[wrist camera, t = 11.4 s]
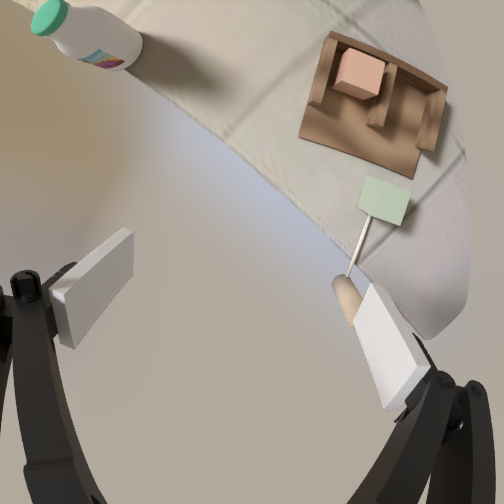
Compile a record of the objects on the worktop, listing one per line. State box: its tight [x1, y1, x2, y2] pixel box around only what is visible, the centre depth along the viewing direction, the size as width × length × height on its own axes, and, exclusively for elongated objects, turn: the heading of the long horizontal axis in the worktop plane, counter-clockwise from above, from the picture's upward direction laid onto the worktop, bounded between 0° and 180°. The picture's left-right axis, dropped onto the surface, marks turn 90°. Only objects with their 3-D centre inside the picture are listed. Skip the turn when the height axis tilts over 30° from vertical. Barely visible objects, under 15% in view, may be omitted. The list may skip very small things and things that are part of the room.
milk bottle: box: [31, 0, 143, 71], centre depth 24 cm, size 8×8×20 cm
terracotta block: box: [331, 48, 385, 100], centre depth 31 cm, size 5×5×6 cm
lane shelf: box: [298, 31, 448, 179], centre depth 34 cm, size 16×19×5 cm
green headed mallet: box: [332, 176, 411, 329], centre depth 39 cm, size 20×5×11 cm, turn 165°
